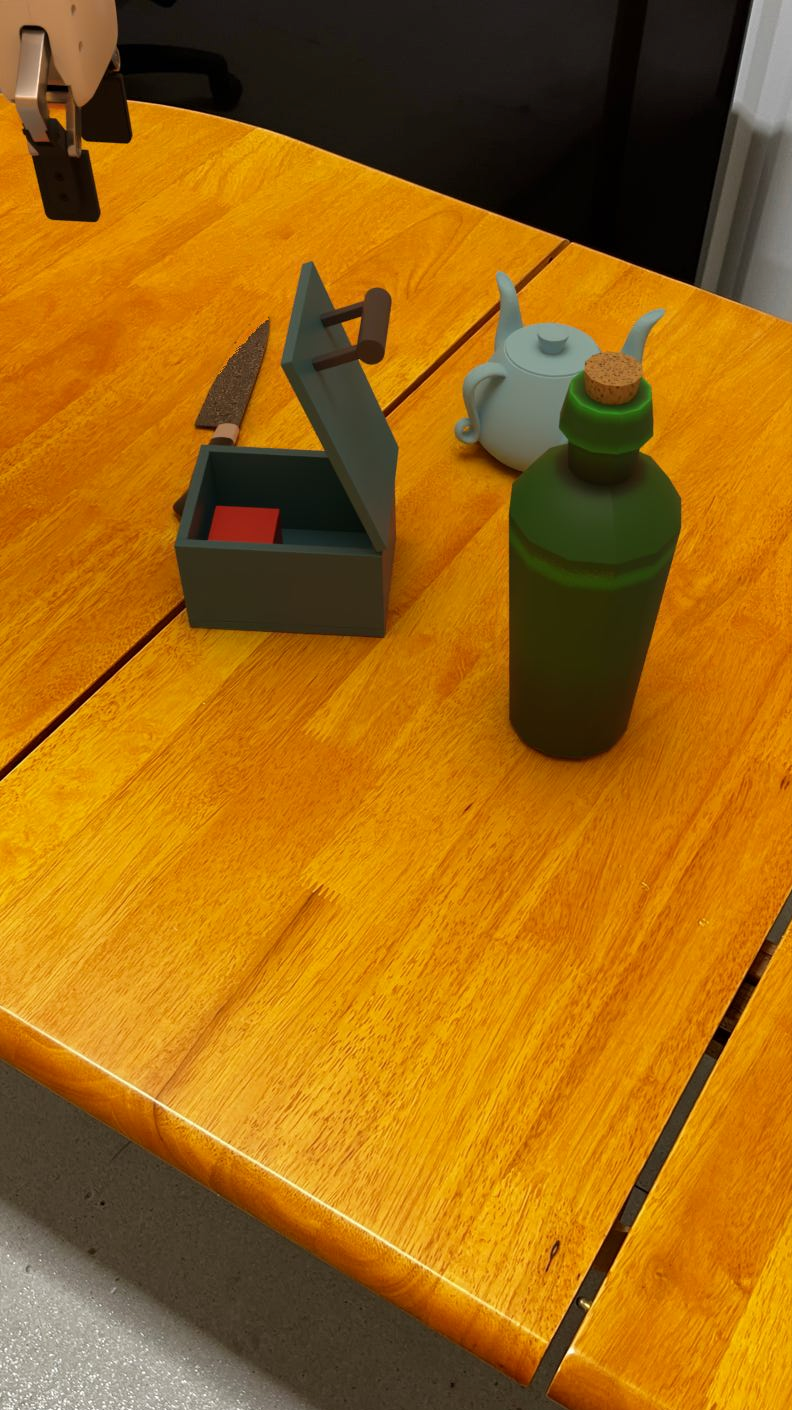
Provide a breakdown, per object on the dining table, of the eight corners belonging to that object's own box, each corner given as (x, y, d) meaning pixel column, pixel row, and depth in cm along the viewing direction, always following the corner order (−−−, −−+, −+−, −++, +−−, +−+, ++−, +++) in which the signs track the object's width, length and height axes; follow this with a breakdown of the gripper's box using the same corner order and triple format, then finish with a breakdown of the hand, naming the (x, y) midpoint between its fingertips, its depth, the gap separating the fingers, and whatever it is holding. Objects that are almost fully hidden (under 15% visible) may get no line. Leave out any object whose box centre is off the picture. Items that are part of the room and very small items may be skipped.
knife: (240, 317, 124) (237, 303, 123) (283, 316, 124) (280, 302, 123) (157, 531, 105) (152, 517, 104) (207, 530, 104) (203, 516, 103)
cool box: (189, 627, 98) (173, 545, 92) (213, 526, 105) (200, 443, 99) (384, 637, 98) (382, 556, 92) (396, 535, 105) (394, 454, 99)
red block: (214, 585, 100) (207, 540, 96) (222, 550, 102) (215, 505, 99) (277, 589, 100) (272, 543, 96) (284, 554, 102) (279, 508, 99)
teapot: (431, 463, 111) (432, 354, 103) (496, 368, 119) (502, 261, 111) (595, 510, 108) (609, 401, 100) (650, 410, 116) (667, 302, 108)
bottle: (622, 658, 98) (682, 308, 75) (658, 766, 92) (735, 420, 69) (481, 672, 96) (500, 320, 74) (508, 782, 90) (537, 435, 68)
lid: (279, 364, 80) (363, 339, 79) (301, 263, 87) (379, 238, 85) (376, 552, 92) (452, 533, 90) (389, 450, 99) (459, 431, 97)
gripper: (-6, -215, 73) (62, 110, 86) (-99, -100, 62) (-5, 248, 76) (130, -207, 73) (176, 116, 86) (59, -91, 62) (124, 255, 76)
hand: (91, 178), depth 81 cm, fingers open, 9 cm apart
